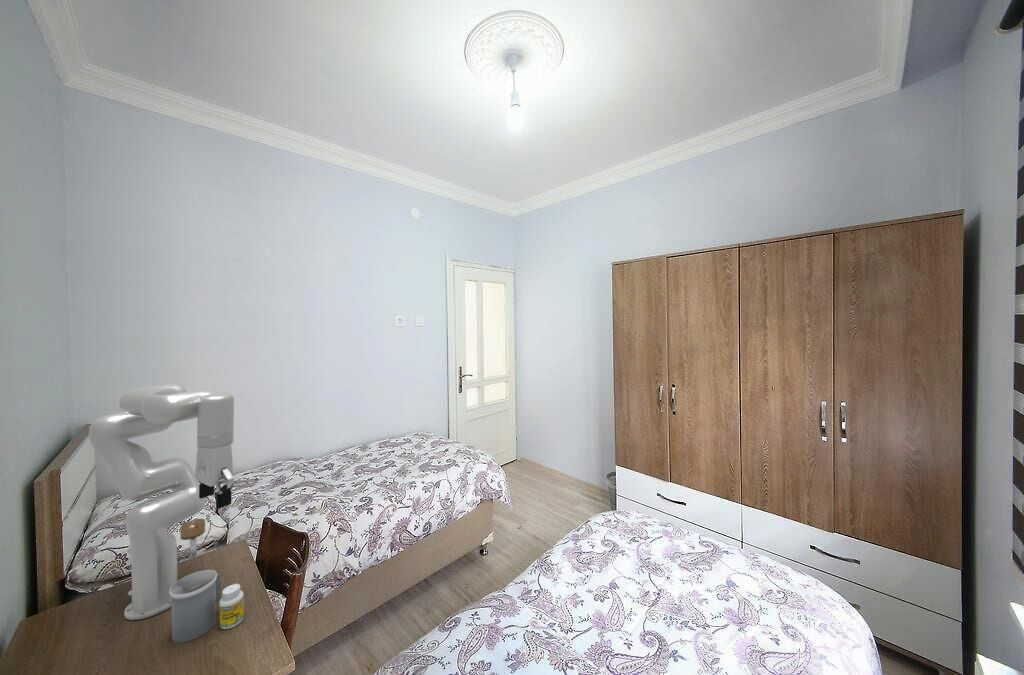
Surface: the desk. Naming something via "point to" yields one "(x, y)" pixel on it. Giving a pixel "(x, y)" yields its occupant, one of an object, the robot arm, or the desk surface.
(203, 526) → the plunger
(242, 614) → the supplement bottle
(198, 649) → the desk surface
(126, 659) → the desk surface
